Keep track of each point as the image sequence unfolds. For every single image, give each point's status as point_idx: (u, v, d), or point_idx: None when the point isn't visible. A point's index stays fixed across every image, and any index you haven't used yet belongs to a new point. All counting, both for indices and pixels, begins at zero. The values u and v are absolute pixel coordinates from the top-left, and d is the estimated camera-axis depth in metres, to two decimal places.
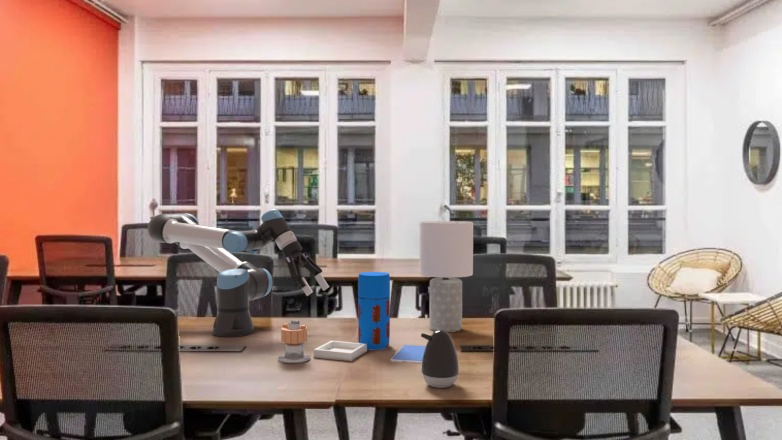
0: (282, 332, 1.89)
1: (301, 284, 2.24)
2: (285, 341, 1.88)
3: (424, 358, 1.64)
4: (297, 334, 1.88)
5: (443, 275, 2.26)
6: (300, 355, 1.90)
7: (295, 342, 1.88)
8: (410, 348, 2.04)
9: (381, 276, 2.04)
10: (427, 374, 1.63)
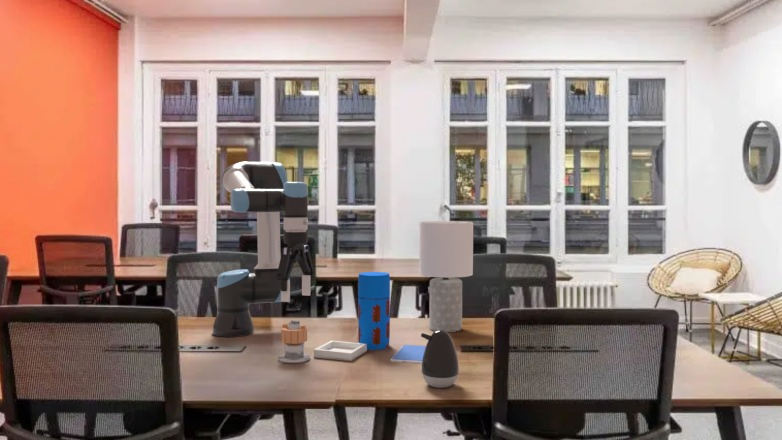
0: (282, 332, 1.89)
1: (282, 287, 1.84)
2: (285, 341, 1.88)
3: (424, 358, 1.64)
4: (297, 334, 1.88)
5: (443, 275, 2.26)
6: (300, 355, 1.90)
7: (295, 342, 1.88)
8: (410, 348, 2.04)
9: (381, 276, 2.04)
10: (427, 374, 1.63)
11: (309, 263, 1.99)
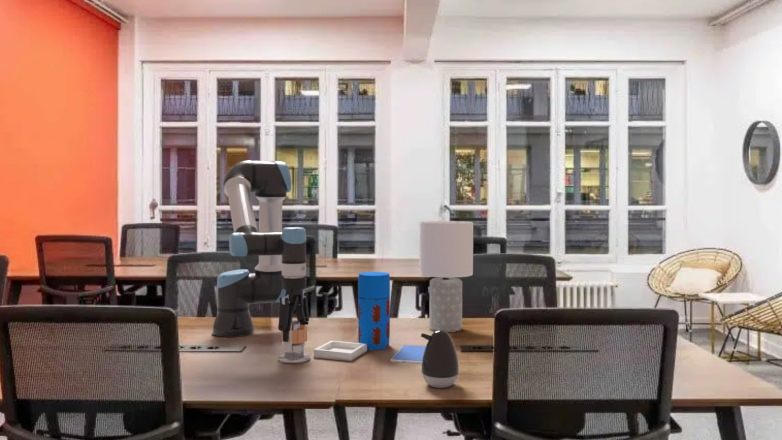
0: (282, 332, 1.89)
1: (284, 338, 1.86)
2: None
3: (424, 358, 1.64)
4: (297, 334, 1.88)
5: (443, 275, 2.26)
6: (300, 355, 1.90)
7: (295, 342, 1.88)
8: (410, 348, 2.04)
9: (381, 276, 2.04)
10: (427, 374, 1.63)
11: (305, 311, 1.97)
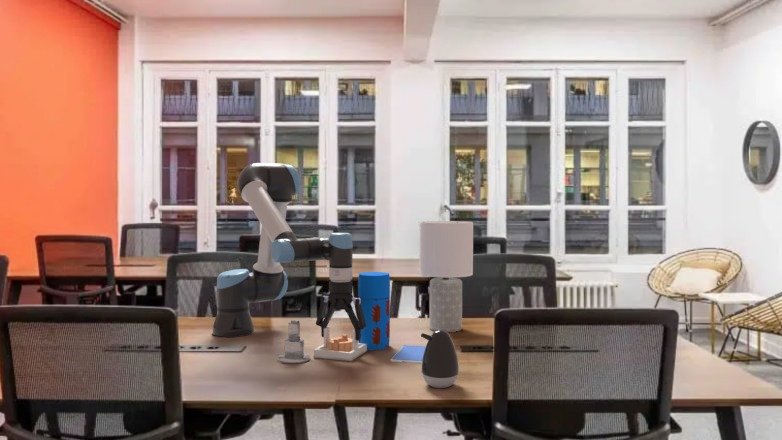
0: None
1: None
2: None
3: (424, 358, 1.64)
4: (328, 345, 1.97)
5: (443, 275, 2.26)
6: (300, 355, 1.90)
7: None
8: (410, 348, 2.04)
9: (381, 276, 2.04)
10: (427, 374, 1.63)
11: None
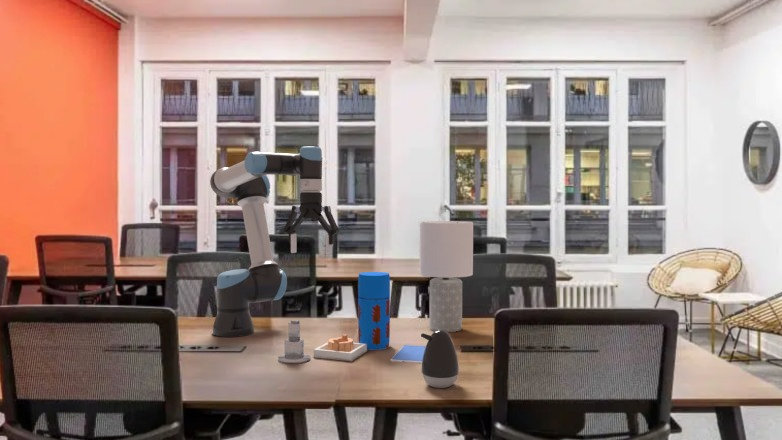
0: None
1: None
2: None
3: (424, 358, 1.64)
4: (328, 345, 1.97)
5: (443, 275, 2.26)
6: (300, 355, 1.90)
7: None
8: (410, 348, 2.04)
9: (381, 276, 2.04)
10: (427, 374, 1.63)
11: None
